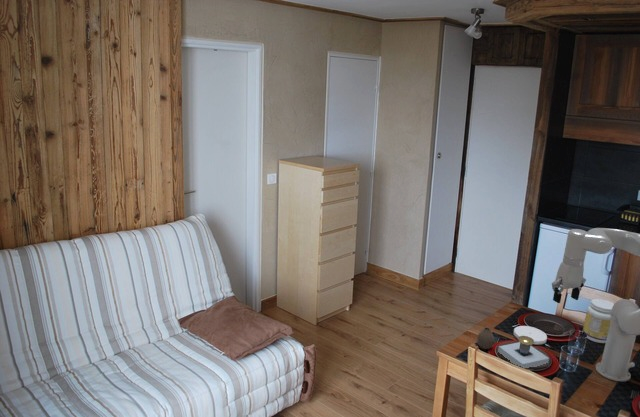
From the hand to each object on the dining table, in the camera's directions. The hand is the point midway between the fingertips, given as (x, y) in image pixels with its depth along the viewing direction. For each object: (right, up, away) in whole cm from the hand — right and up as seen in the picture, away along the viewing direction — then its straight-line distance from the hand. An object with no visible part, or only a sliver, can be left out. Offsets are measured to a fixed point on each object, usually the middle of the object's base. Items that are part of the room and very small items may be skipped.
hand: (565, 300), depth 216 cm
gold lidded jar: (-15, -25, +7) cm, 30 cm away
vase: (-28, -23, +17) cm, 40 cm away
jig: (-15, -26, +8) cm, 31 cm away
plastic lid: (-4, -22, +27) cm, 35 cm away
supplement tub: (+28, -23, +31) cm, 48 cm away
